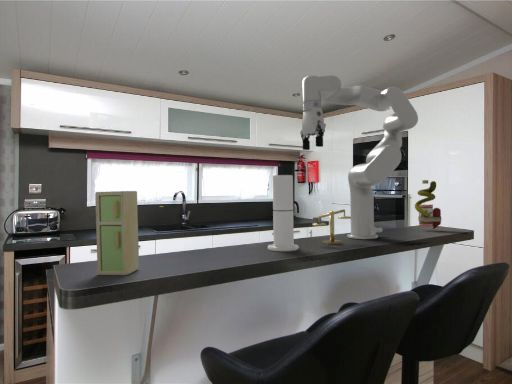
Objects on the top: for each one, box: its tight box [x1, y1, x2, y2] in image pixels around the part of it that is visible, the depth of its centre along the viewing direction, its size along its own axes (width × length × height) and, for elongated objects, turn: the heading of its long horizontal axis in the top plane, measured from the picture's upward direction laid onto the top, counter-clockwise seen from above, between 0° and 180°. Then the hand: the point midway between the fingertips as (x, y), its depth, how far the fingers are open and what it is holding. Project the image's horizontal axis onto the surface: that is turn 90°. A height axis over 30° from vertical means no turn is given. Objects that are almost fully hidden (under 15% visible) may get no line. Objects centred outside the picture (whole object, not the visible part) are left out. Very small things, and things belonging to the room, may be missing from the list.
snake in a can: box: [414, 179, 442, 230], centre depth 158 cm, size 12×10×25 cm
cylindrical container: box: [272, 174, 295, 247], centre depth 114 cm, size 7×7×25 cm
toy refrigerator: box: [94, 190, 140, 276], centre depth 82 cm, size 8×7×21 cm
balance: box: [311, 209, 351, 246], centre depth 123 cm, size 17×5×13 cm, turn 113°
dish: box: [267, 243, 300, 253], centre depth 114 cm, size 11×11×1 cm
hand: (312, 148), depth 133 cm, fingers open, 9 cm apart
